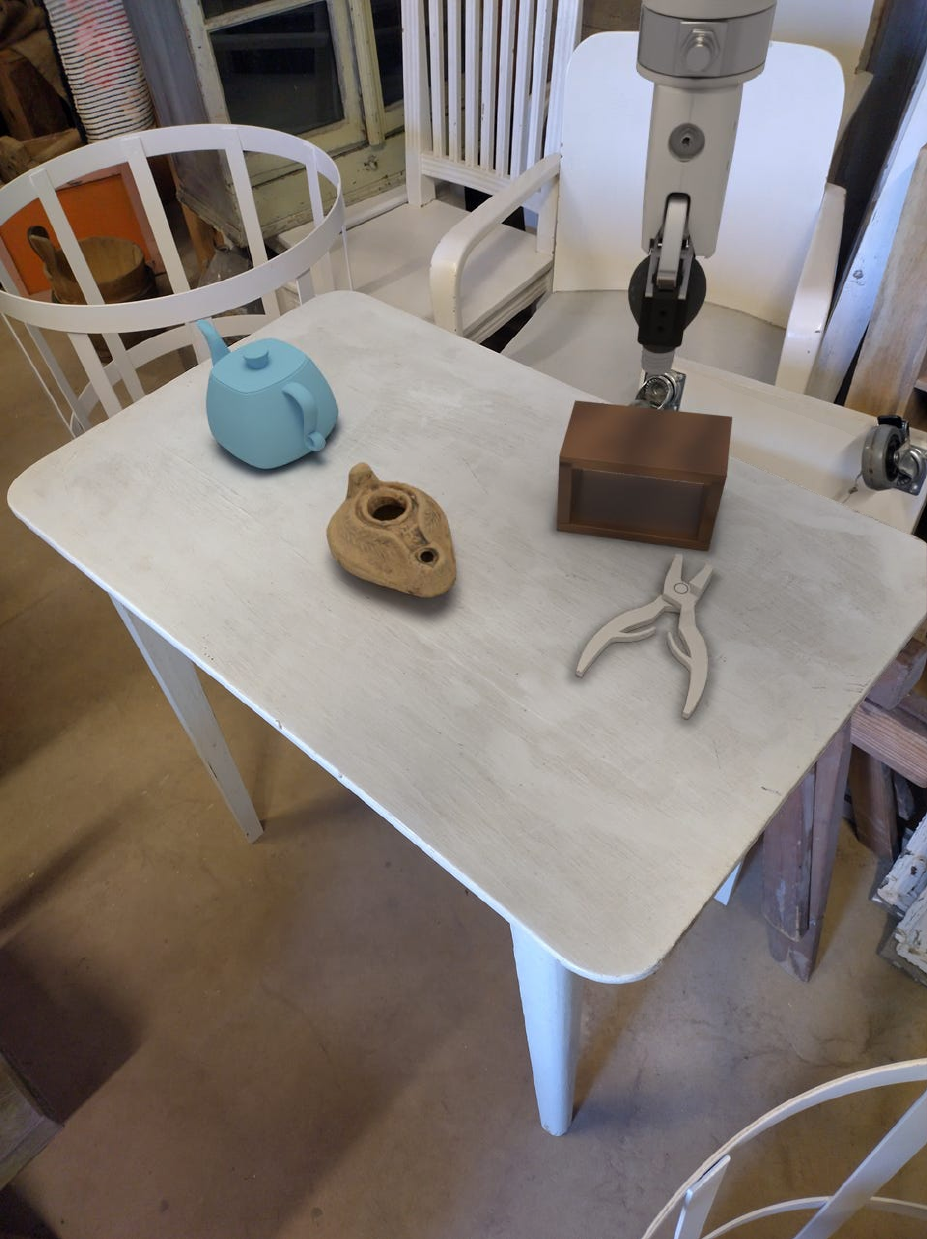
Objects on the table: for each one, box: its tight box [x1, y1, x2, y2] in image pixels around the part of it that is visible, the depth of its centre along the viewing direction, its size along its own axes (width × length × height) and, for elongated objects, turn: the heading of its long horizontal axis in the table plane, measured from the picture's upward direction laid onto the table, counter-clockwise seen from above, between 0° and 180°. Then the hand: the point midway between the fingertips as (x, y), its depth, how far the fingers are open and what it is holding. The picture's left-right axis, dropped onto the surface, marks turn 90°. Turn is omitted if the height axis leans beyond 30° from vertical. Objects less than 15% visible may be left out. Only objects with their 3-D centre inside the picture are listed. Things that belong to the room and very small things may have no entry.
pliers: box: [575, 553, 715, 720], centre depth 68 cm, size 10×2×15 cm
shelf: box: [555, 400, 733, 552], centre depth 74 cm, size 14×8×9 cm, turn 75°
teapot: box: [196, 319, 339, 470], centre depth 85 cm, size 13×11×18 cm
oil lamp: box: [325, 461, 457, 598], centre depth 72 cm, size 11×15×8 cm
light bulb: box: [627, 254, 707, 378], centre depth 62 cm, size 6×6×10 cm
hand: (663, 318), depth 62 cm, fingers closed on light bulb, 5 cm apart
